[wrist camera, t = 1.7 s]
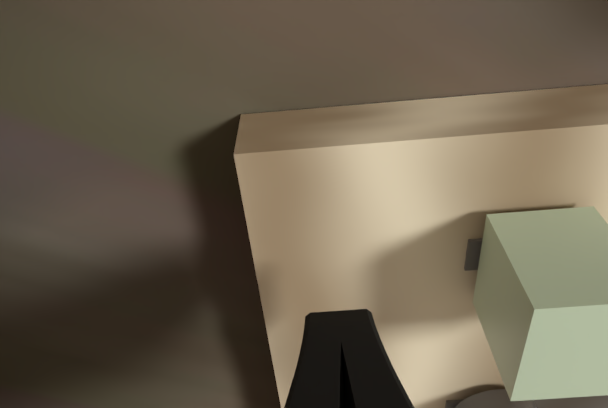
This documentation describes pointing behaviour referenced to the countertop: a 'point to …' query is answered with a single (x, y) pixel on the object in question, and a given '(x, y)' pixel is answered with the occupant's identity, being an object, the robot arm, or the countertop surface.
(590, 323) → the matte mint cube
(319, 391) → the robot arm
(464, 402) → the charcoal knob
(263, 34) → the countertop surface
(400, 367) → the control board
